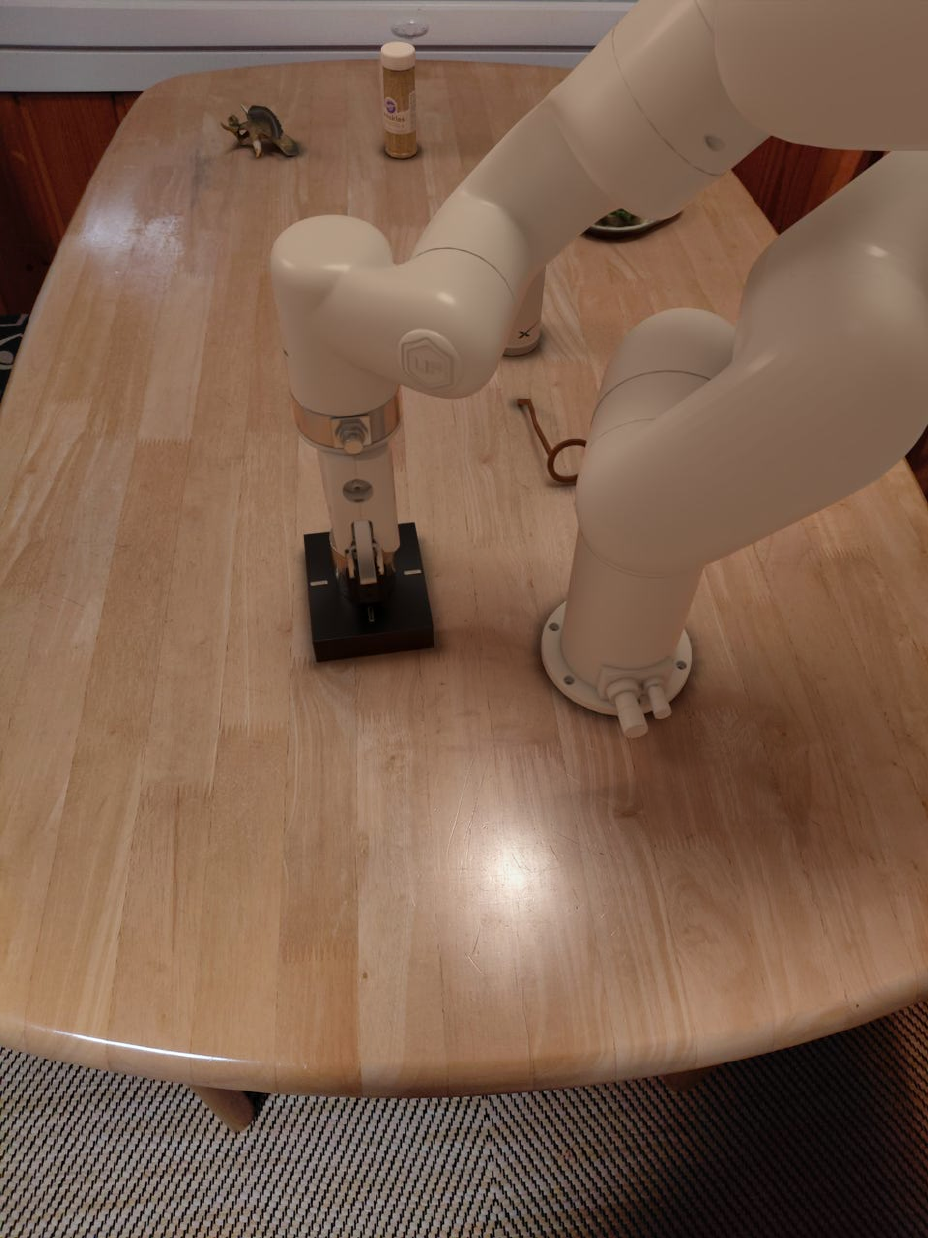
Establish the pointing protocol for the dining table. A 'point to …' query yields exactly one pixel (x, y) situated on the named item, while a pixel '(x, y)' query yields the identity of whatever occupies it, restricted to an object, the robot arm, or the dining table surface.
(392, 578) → the program dial
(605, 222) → the avocado toast plate
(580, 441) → the glasses
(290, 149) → the brown horned dinosaur figurine
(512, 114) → the dining table surface
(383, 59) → the sprinkles bottle
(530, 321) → the travel mug
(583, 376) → the dining table surface
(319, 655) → the dial panel
